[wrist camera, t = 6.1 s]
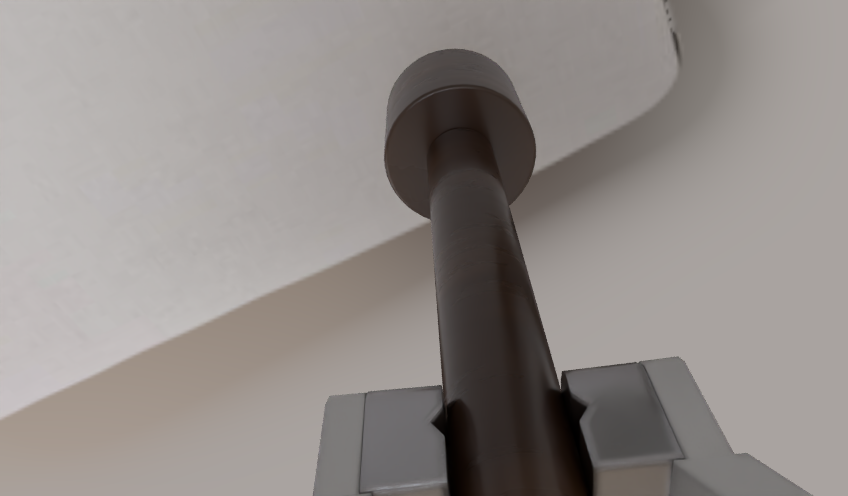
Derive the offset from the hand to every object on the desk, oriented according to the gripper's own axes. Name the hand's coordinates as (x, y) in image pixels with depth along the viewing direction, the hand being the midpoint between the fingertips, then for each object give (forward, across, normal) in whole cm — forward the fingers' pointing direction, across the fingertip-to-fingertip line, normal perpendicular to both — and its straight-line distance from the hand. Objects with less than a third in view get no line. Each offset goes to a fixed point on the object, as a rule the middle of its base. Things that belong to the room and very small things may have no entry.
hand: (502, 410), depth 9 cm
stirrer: (+11, 0, 0) cm, 11 cm away
